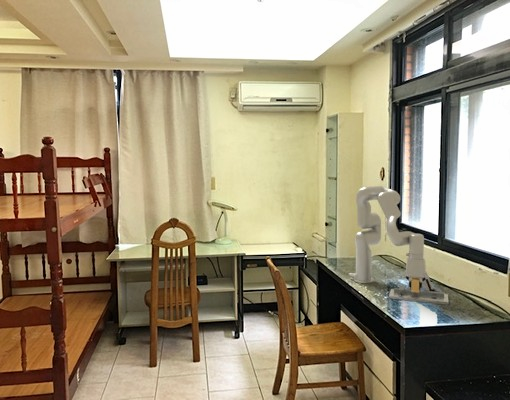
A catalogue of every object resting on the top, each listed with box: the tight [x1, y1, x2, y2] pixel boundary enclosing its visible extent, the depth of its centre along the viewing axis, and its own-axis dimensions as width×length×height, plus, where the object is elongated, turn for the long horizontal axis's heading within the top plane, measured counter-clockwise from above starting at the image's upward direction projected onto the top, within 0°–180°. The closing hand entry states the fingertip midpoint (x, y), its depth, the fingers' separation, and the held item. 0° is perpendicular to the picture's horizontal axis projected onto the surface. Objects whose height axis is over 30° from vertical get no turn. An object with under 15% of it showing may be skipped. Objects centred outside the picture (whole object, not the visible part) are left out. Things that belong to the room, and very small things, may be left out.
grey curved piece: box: [419, 275, 437, 292], centre depth 260 cm, size 17×5×10 cm, turn 2°
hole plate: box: [388, 288, 450, 306], centre depth 240 cm, size 30×14×2 cm, turn 68°
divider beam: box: [393, 285, 445, 297], centre depth 241 cm, size 26×7×3 cm, turn 68°
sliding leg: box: [411, 277, 420, 296], centre depth 241 cm, size 4×7×9 cm, turn 158°
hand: (415, 288), depth 241 cm, fingers closed on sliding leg, 4 cm apart
